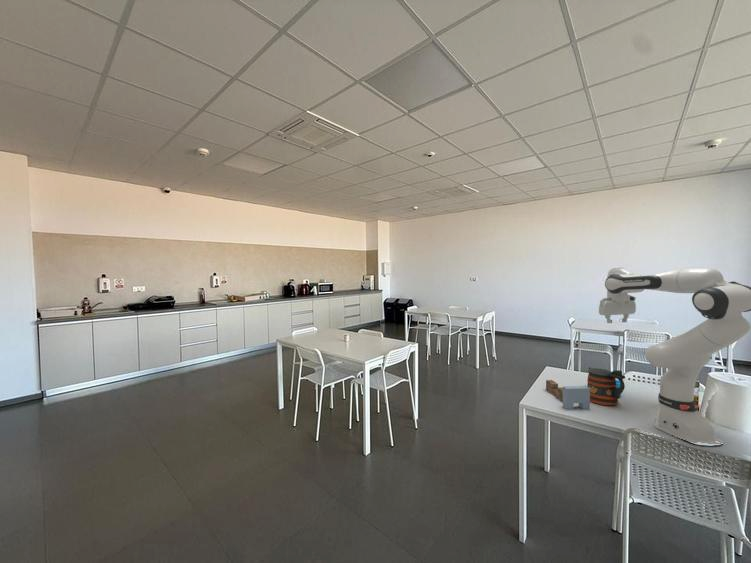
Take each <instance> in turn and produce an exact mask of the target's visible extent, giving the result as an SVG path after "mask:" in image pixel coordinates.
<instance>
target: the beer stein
mask: <svg viewBox="0 0 751 563" xmlns="http://www.w3.org/2000/svg"><path fill="white" fill-rule="evenodd" d="M624 379H626V375H623V371H622V370H618V369H617V370H613V371H611V370H608V369H605V368H592V367H588V374H587V385H586V386H587V387H588V388H590V403H593V404H597V405H601V406H610V407H611V406H616V405H618V404H619V401H618V400H619V399H620V398H621V397H620V394H621V395H622V393H623V392H624V390H625V387H626V385H625V381H624ZM616 380H618V381H620V384H621V385H620V387H619V388H616V386H617V384H616Z"/></svg>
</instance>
